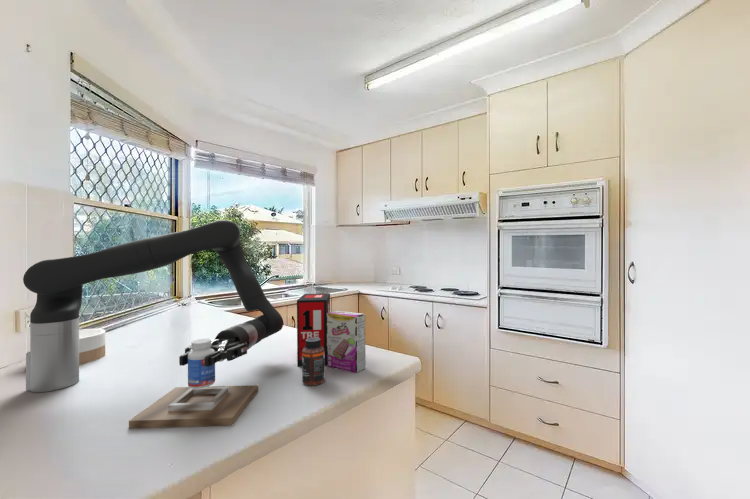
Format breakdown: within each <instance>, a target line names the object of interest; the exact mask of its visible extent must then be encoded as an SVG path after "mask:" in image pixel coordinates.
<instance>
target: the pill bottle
mask: <svg viewBox="0 0 750 499" xmlns="http://www.w3.org/2000/svg"><path fill="white" fill-rule="evenodd" d="M212 340H213V339H211V338H199V339H195V340H192V341H191V344H190V345H191V349H193V350H192V351H191V352H190V353H189V354H188V364H187V387H189V388H191V389H201V388H205V387H208V386H213V385H214V384H215V382H216V363H214V364H213V365H211V366H209V367H207V366H205V357H206V356H207V355H209V354H211V353H213V352H215V351H214V349H212V348H210V347H211V346H212Z"/></svg>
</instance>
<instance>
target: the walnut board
mask: <svg viewBox="0 0 750 499" xmlns="http://www.w3.org/2000/svg"><path fill="white" fill-rule="evenodd" d="M258 392H259V385H258V384H257V385H256V384H254V385H253V384H252V385H251V384H250V385H248V384H247V385H214V386H213V385H211V386H208V387H205V388H201V389H191V388H189V387H188V386H175V387H174V388H172V389H171V390H170V391H168V392H167V393H166V394H164V395H163V396H162V397H160V398H158V399H157V400H156V401H154V402H153V403H152V404H150V405H149V406H148V407H146V408H145V409H143V410H142V411H140V412H139V413H138V414H136V415H135V416H134V417H132V418H131V419H129V420H128V429H153V428H154V429H155V428H160V429H161V428H181V427H182V428H183V427H184V428H186V427H187V428H189V427H191V428H192V427H219V426H224V427H225V426H233V425H234V424H235V422H236V421H237V419H238V418H239V417H240V416H241V414H242V413H243V412H244V411H245V409H246V408H247V406H248V405H249V403H251V401H252V400H253V399H254V397H255V396H256V394H257V393H258Z"/></svg>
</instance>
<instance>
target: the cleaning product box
mask: <svg viewBox="0 0 750 499" xmlns="http://www.w3.org/2000/svg"><path fill="white" fill-rule="evenodd" d="M328 312H331V293H330V292H328V293H321V292H320V293H304V294H303V295H301V297H299V298H298V299H297V300H296V336H297V337H296V338H297V340H296V344H297V345H296V346H297V349H296V350H297V351H296V354H297V357H296V358H297V359H296V362H297V365H296V366H297V367H301V368H302V350H303V348H304V347H305V346H306V345H305V343H306V339H308V338H320V339H321V346H322V347H324V351H325V367H327V313H328Z"/></svg>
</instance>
